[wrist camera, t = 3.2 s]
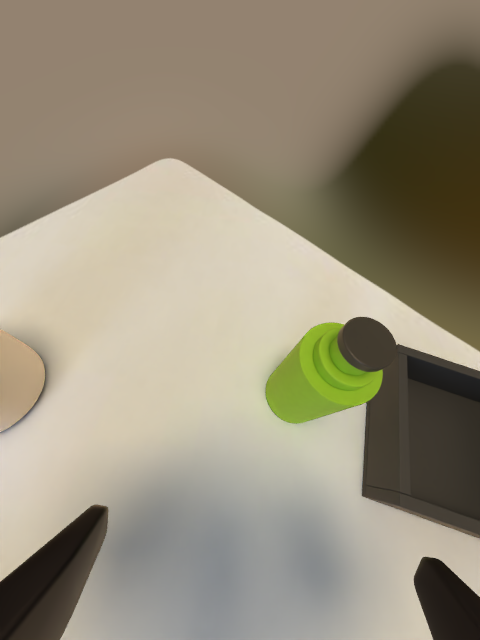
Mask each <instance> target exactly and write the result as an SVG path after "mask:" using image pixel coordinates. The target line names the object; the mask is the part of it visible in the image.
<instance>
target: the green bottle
mask: <svg viewBox="0 0 480 640" xmlns="http://www.w3.org/2000/svg"><path fill="white" fill-rule="evenodd" d="M396 354H397V346H396V342H395V340H394V338H393V336H392V334H391V333H390V331H389V330H388V329H387V328H386V327H385V326H384V325H382V324H381V323H380V322H378V321H376V320H374V319H371V318H367V317H356V318H353V319H351V320H349V321H348V322H347V323H346V324H345V325H344V324H339V323H323V324H320V325H317V326H315V327H313V328H312V329H310V330H309V331H308V332H307V333H306V334H305V336H304V337H303V338H302V339H301V340H300V341H299V343H298V344H297V345H296V346H295V347H294V349H293V350H292V351H291V352H290V353H289V354H288V356H287V357H286V358H285V359H284V360H283V362H282V363H281V364H280V365H279V366H278V367H277V369H276V370H275V371H274V372H273V373H272V375H271V376H270V377H269V379H268V381H267V385H266V398H267V402H268V404H269V406H270V408H271V409H272V411H273V412H274V413H275V414H276V415H277V416H278V417H279V418H281V419H282V420H284V421H287V422H290V423H303V422H306V421H310V420H313V419H316V418H319V417H322V416H326V415H329V414H332V413H335V412H338V411H342V410H345V409H348V408H351V407H354V406H358V405H361V404H363V403H366V402H368V401H369V400H371V399H372V398H373V397H374V396H375V395H376V394H377V392H378V390H379V389H380V386H381V383H382V377H383V371H382V369H384V368H386V367H388V366H389V365H391V364H392V363H393V361H394V360H395V357H396Z"/></svg>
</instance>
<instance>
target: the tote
mask: <svg viewBox="0 0 480 640" xmlns="http://www.w3.org/2000/svg"><path fill="white" fill-rule="evenodd" d="M396 346H397V354H396V357H395V360H394V361H393V363H392V364H391V365H389V366H388V367H386V368H384V369H382V371H383V377H382V383H381V386H380V389H379V390H378V392H377V394H376V395H375V396H374V397H373V398H372V399H371V400H369V401H368V402H367V414H366V433H365V452H364V471H363V489H362V496H363V497H366V498H369V499H371V500H374V501H377V502H380V503H383V504H385V505H388V506H391V507H394V508H396V509H399V510H402V511H405V512H408V513H410V514H413V515H416V516H419V517H422V518H424V519H427V520H430V521H433V522H436V523H438V524H441V525H444V526H447V527H450V528H452V529H455V530H458V531H461V532H463V533H466V534H469V535H472V536H475V537H477V538H480V371H477V370H474V369H471V368H468V367H465V366H462V365H459V364H456V363H453V362H450V361H447V360H444V359H441V358H438V357H435V356H432V355H429V354H426V353H423V352H420V351H417V350H414V349H411V348H408V347H405V346H402V345H399V344H398V345H396Z"/></svg>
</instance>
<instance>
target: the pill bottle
mask: <svg viewBox="0 0 480 640" xmlns="http://www.w3.org/2000/svg"><path fill="white" fill-rule="evenodd" d="M44 381H45V369H44V365H43V362H42V360H41V358H40V357H39V355H38V354H37V353H36V352H35V351H34V350H33V349H32V348H30V347H29V346H28V345H26V344H24V343H23V342H21V341H19V340H18V339H16V338H14V337H13V336H11V335H10V334H8V333H6V332H5V331H3V330H1V329H0V432H2V431H4V430H6V429H7V428H9V427H10V426H12V425H13V424H15V423H16V422H17V421H19V420H20V419H21V418H22V417H23V416H24V415H25V414H26V413H27V412H28V411H29V410H30V409H31V408H32V407H33V405H34V404H35V402H36V401H37V399H38V397H39V396H40V393H41V391H42V389H43V385H44Z"/></svg>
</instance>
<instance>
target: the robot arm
mask: <svg viewBox="0 0 480 640" xmlns="http://www.w3.org/2000/svg"><path fill="white" fill-rule="evenodd" d="M107 524H108V507H106V506H101V505H93V506H91V507H90V508H88V509H87V510H86V511H85V512H84V513H82V514H81V515H80V516H79V517H78V518H76V519H75V520H74V521H73V522H72V523H70V524H69V525H68V526H67V527H66V528H64V529H63V530H62V531H61V532H60V533H58V534H57V535H56V536H55V537H54V538H52V539H51V540H50V541H49V542H48V543H47V544H45V545H44V546H43V547H42V548H41V549H39V550H38V551H37V552H36V553H35V554H33V555H32V556H31V557H30V558H29V559H27V560H26V561H25V562H24V563H23V564H21V565H20V566H19V567H18V568H17V569H15V570H14V571H13V572H12V573H11V574H9V575H8V576H7V577H6V578H5V579H3V580H2V581H1V582H0V640H60V638H61V636H62V634H63V633H64V631H65V628H66V626H67V624H68V622H69V620H70V618H71V616H72V614H73V612H74V609H75V607H76V605H77V603H78V600H79V598H80V596H81V593H82V591H83V588H84V586H85V584H86V581H87V579H88V577H89V574H90V572H91V570H92V567H93V565H94V563H95V560H96V558H97V556H98V553H99V551H100V548H101V546H102V544H103V541H104V539H105V536H106V533H107ZM414 585H415V589H416V592H417V595H418V598H419V601H420V603H421V606H422V609H423V612H424V615H425V617H426V620H427V623H428V626H429V629H430V631H431V634H432V637H433V640H480V597H479V596H478V595H477V594H476V593H475V592H474V591H472V590H471V589H470V588H469V587H468V586H467V585H466V584H465V583H464V582H463V581H462V580H461V579H460V578H459V577H458V576H457V575H456V574H455V573H454V572H452V571H451V570H450V569H449V568H448V567H447V566H446V565H445V564H444V563H443V562H442V561H440V560H439V559H436V558H430V557H423V558H422V559H421V561H420V564H419V566H418V569H417V571H416V573H415V576H414Z"/></svg>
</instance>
